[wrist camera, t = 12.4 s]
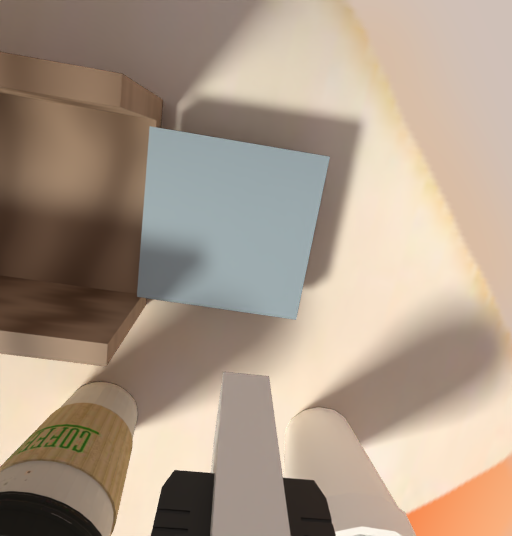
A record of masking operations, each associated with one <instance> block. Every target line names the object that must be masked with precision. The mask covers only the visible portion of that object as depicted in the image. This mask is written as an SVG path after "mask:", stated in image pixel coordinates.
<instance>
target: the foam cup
mask: <svg viewBox="0 0 512 536" xmlns="http://www.w3.org/2000/svg"><path fill="white" fill-rule="evenodd" d="M283 478H294V479H306V480H314V481H315V482H316V484H317V485H318V487H319V488H320V490H321V491H322V493H323V494H324V496H325V497H326V499H327V503H328V507H329V511H330V515H331V519H332V524H333V527H334V531H335V534H336V536H416V535H415V532H414V530H413V528H412V526H411V524H410V522H409V520H408V518H407V516H406V514H405V512H404V511H402V510H401V509H399V507H398V506H397V504H396V502H395V501H394V499H393V497H392V496H391V494H390V492H389V491H388V489H387V487H386V486H385V484H384V482H383V481H382V479H381V477H380V476H379V474H378V472H377V470H376V469H375V467H374V465H373V464H372V462H371V460H370V459H369V457H368V455H367V454H366V452H365V450H364V449H363V447H362V445H361V444H360V442H359V440H358V439H357V437H356V435H355V434H354V432H353V430H352V429H351V427H350V425H349V423H348V422H347V421H346V419H345V417H343V416H342V415H341V414H339V413H338V412H336V411H335V410H333V409H327V408H322V407H317V408H312V409H307V410H303V411H302V412H301V413H299V414H298V415H296V416H295V417H293V418H292V419H291V421H290V422H289V424H288V426H287V427H286V429H285V442H284V473H283Z"/></svg>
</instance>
